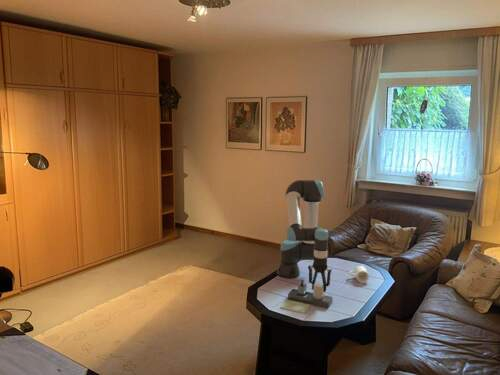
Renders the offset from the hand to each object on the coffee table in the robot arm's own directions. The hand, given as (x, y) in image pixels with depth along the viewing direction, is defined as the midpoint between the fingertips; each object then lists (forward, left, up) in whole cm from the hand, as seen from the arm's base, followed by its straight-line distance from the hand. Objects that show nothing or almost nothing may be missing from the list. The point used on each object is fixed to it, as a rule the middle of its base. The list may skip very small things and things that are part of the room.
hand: (318, 295), depth 231 cm
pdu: (-5, 0, -5) cm, 7 cm away
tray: (-10, -11, -5) cm, 16 cm away
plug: (0, 0, -2) cm, 2 cm away
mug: (+13, +47, -5) cm, 49 cm away
